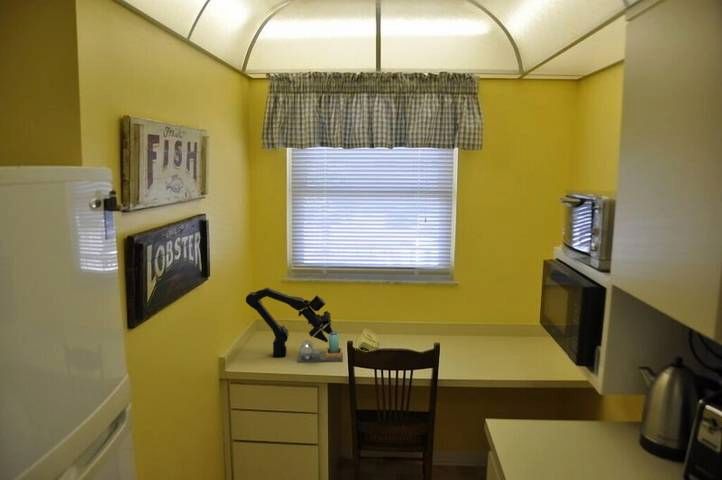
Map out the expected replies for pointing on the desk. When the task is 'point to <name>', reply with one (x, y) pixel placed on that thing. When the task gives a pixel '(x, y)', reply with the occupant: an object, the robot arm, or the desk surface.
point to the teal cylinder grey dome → (333, 342)
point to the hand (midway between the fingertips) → (330, 339)
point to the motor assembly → (317, 354)
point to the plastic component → (367, 340)
